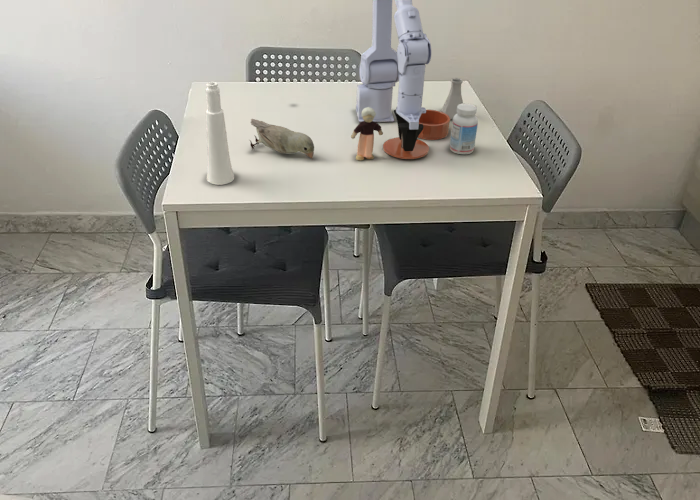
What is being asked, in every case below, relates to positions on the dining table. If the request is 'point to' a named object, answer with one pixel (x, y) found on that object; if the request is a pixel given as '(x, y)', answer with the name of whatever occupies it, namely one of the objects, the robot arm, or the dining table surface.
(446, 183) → the dining table surface
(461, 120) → the pill bottle
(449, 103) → the flask
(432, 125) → the bowl
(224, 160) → the cosmetic bottle
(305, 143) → the decorative bird
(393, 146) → the lid
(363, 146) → the grandmother figurine
